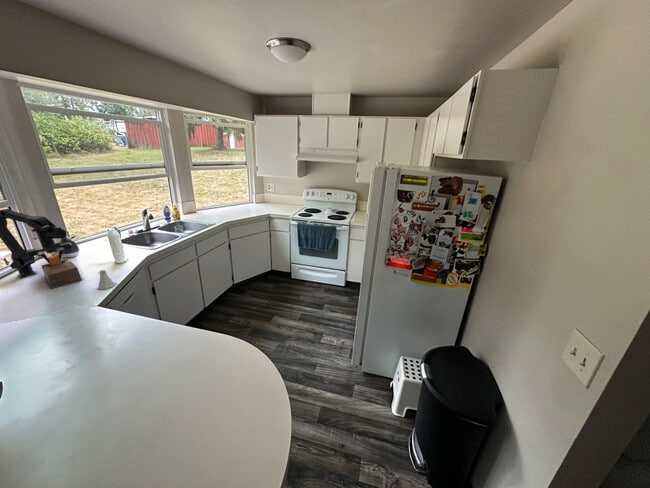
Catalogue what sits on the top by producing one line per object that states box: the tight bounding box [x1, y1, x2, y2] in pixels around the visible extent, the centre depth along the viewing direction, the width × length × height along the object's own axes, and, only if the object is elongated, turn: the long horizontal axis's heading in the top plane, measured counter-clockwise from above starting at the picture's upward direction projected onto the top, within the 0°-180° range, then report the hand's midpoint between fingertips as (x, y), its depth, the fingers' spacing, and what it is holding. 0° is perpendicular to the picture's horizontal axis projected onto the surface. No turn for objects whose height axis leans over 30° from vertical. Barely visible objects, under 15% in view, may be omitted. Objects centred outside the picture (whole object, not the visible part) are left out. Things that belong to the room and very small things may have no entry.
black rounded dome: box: [59, 235, 81, 258], centre depth 182 cm, size 10×10×15 cm
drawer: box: [41, 259, 69, 269], centre depth 156 cm, size 18×11×7 cm, turn 54°
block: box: [46, 254, 62, 266], centre depth 154 cm, size 4×4×4 cm
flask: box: [97, 269, 116, 290], centre depth 144 cm, size 7×7×10 cm
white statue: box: [106, 227, 127, 264], centre depth 173 cm, size 9×6×25 cm
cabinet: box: [41, 260, 83, 289], centre depth 150 cm, size 15×13×9 cm
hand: (55, 262), depth 154 cm, fingers closed on block, 4 cm apart
